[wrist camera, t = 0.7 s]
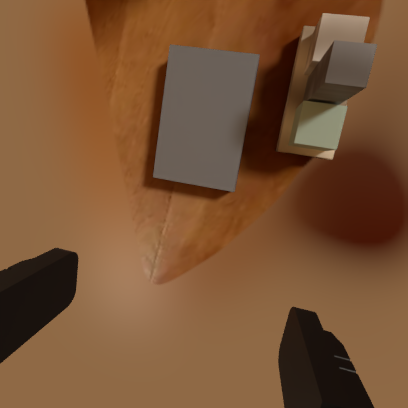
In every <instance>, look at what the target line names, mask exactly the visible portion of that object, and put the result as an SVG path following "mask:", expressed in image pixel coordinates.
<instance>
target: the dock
mask: <svg viewBox="0 0 408 408" xmlns="http://www.w3.org/2000/svg"><path fill="white" fill-rule="evenodd" d="M259 56H260V55H259V54H250V53H241V52H232V51H223V50H214V49H205V48H197V47H188V46H179V45H170V48H169V56H168V64H167V71H166V79H165V87H164V95H163V102H162V110H161V118H160V126H159V134H158V141H157V149H156V157H155V165H154V173H153V177H154V178H159V179H165V180H170V181H176V182H181V183H187V184H192V185H198V186H203V187H209V188H214V189H220V190H225V191H231V192H234V191H235V188H236V183H237V177H238V172H239V166H240V161H241V156H242V150H243V145H244V140H245V134H246V129H247V124H248V118H249V113H250V108H251V102H252V97H253V91H254V86H255V81H256V75H257V70H258V65H259Z"/></svg>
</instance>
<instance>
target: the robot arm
mask: <svg viewBox="0 0 408 408" xmlns="http://www.w3.org/2000/svg"><path fill="white" fill-rule="evenodd" d="M77 270H78V255H77V254H76V253H75V252H71V251H67V250H63V249H59V248H54V249H52V250H50V251H48V252H46V253H44V254H42V255H40V256H37V257H35V258H32V259H29V260H25V261H21V262H19V263H17V264H15V265H13V266H11V267H9V268H8V269H4V270H2V271H0V363H1V362H3V361H4V360H5V359H6V358H7V357H8V356H10V355H11V354H12V353H13V352H15V351H16V350H17V349H18V348H19V347H20V346H21V345H23V344H24V343H25V342H26V341H28V340H29V339H30V338H31V337H32V336H34V335H35V334H36V333H37V332H38V331H39V330H41V329H42V328H43V327H44V326H45V325H47V324H48V323H49V322H50V321H51V320H52V319H54V318H55V317H56V316H57V315H58V314H60V313H61V312H62V311H63V310H64V309H65V308H67V307H68V306H69V304H70V303H71V302H72V300H73V298H74V295H75V292H76V282H77ZM278 363H279V372H280V379H281V386H282V392H283V400H284V407H285V408H374V406H373V404H372V402H371V400H370V398H369V396H368V394H367V392H366V390H365V388H364V386H363V384H362V382H361V380H360V378H359V376H358V374H356V370H355V368H354V366H353V364H352V362H351V361H350V358H349V356H348V354H347V352H346V350H345V348H344V346H343V344H342V343H341V342H340V341H339V340H338V339H337V338H336V337H335V336H334V335H333V334H332V333H331V332H328V331H325V330H323V328H322V325H321V323H320V321H319V319H318V316H317V314H316V313H315V312H312V311H308V310H304V309H300V308H296V307H292V308H291V309H290V312H289V315H288V319H287V322H286V326H285V330H284V333H283V337H282V341H281V344H280V349H279V359H278Z"/></svg>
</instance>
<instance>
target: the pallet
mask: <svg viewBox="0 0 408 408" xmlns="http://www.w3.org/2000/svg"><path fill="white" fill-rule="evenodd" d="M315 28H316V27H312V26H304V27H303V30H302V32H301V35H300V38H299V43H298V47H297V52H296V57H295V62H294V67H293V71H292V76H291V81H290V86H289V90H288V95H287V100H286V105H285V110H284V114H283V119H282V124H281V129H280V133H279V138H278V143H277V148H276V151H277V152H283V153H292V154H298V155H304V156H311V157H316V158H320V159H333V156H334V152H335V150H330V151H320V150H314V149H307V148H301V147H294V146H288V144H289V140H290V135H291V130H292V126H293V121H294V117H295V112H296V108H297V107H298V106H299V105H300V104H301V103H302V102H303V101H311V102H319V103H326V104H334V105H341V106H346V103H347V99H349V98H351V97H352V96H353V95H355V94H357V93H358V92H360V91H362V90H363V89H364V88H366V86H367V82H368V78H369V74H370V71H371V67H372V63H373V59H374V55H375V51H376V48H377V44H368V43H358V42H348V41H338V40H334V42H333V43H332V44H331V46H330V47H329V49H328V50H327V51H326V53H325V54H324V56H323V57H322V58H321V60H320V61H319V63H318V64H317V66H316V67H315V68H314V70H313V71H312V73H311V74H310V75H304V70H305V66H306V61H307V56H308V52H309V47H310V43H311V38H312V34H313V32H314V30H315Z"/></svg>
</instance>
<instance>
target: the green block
mask: <svg viewBox="0 0 408 408" xmlns="http://www.w3.org/2000/svg"><path fill="white" fill-rule="evenodd" d="M346 110H347V106H341V105H334V104H326V103H319V102H311V101H303V102H302V103H301V104H300V105H299V106H298V107H297V108H296V112H295V117H294V121H293V126H292V130H291V135H290V140H289V144H288V146H294V147H301V148H307V149H314V150H320V151H330V150H336V149H337V146H338V142H339V138H340V134H341V130H342V127H343V123H344V119H345V115H346Z"/></svg>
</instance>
